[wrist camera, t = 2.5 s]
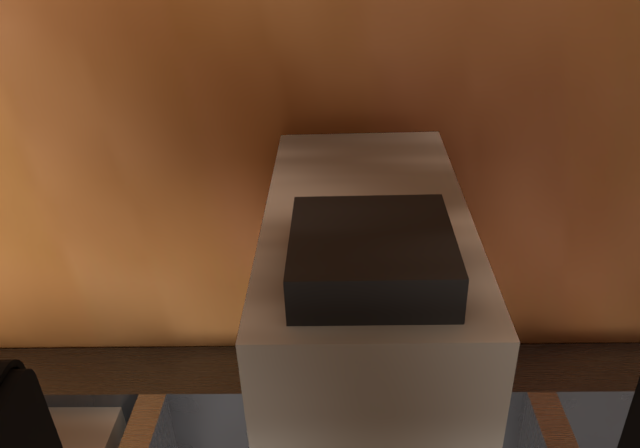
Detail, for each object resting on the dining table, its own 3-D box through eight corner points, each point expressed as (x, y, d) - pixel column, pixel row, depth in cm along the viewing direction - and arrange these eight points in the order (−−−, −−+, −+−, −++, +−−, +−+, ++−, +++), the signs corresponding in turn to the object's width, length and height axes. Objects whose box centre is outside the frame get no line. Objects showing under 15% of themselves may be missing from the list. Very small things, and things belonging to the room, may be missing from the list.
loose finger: (440, 101, 15) (527, 296, 8) (429, 263, 17) (490, 521, 11) (279, 104, 15) (229, 299, 8) (290, 265, 18) (258, 520, 11)
